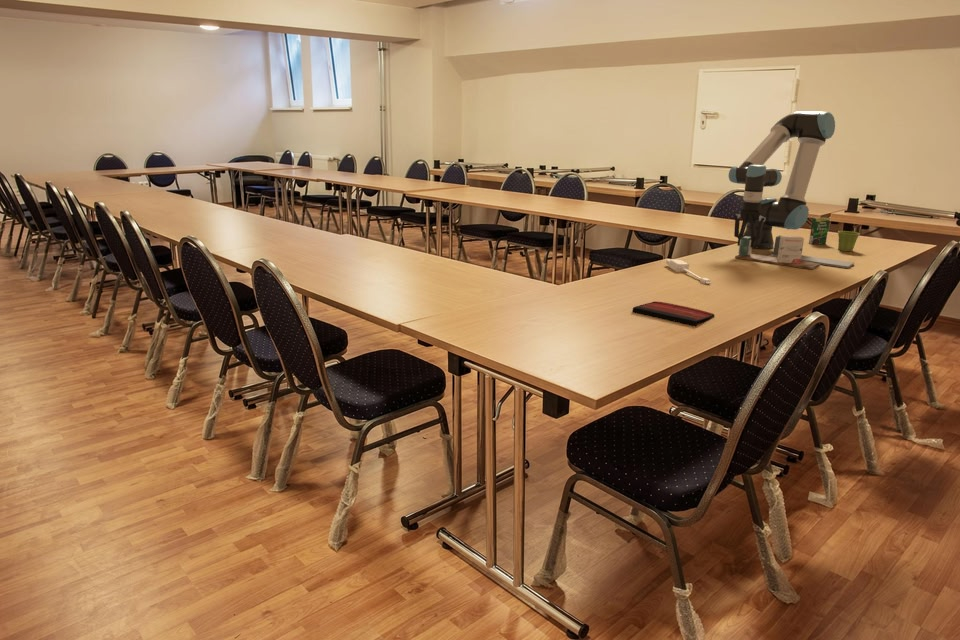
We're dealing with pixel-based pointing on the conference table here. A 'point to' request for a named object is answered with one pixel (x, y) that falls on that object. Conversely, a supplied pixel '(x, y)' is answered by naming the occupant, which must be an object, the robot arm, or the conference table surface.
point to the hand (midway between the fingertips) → (744, 253)
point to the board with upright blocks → (769, 257)
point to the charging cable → (684, 269)
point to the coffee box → (819, 230)
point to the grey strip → (814, 258)
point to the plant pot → (847, 240)
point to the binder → (673, 313)
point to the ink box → (790, 249)
